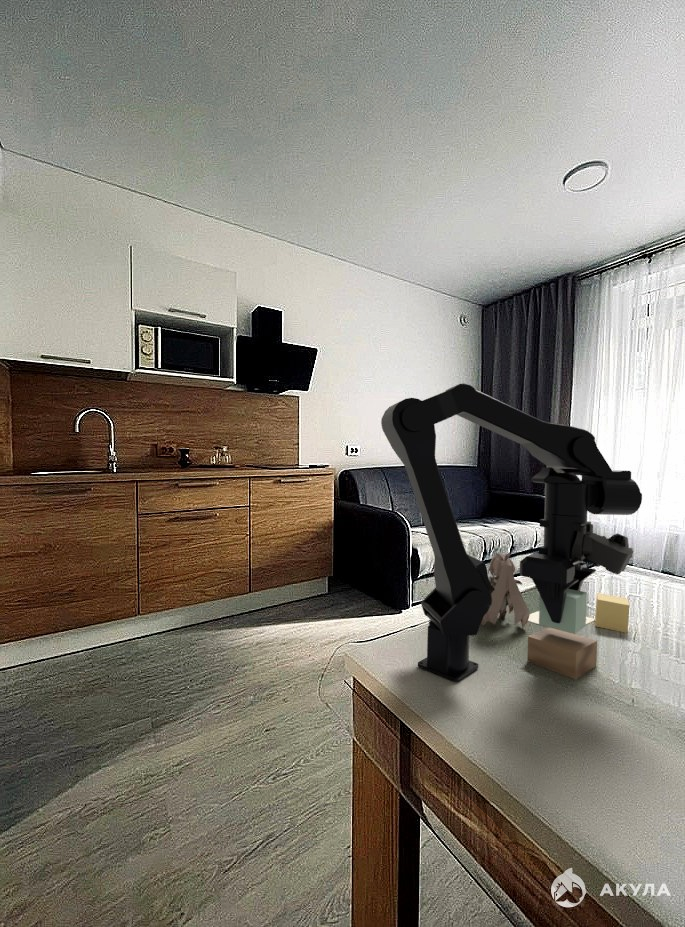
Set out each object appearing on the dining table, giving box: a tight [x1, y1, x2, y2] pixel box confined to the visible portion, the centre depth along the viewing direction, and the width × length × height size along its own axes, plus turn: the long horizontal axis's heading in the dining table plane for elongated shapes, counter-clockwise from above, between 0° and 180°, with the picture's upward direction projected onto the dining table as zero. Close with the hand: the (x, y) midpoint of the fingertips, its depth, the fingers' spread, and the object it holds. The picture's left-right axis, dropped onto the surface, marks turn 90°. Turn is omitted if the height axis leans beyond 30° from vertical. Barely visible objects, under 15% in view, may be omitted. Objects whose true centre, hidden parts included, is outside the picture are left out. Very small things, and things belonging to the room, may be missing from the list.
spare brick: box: [594, 592, 630, 633], centre depth 83 cm, size 5×5×5 cm
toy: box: [480, 552, 530, 629], centre depth 82 cm, size 9×8×15 cm
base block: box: [526, 627, 598, 680], centre depth 67 cm, size 7×7×4 cm
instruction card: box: [527, 610, 595, 628], centre depth 86 cm, size 12×9×1 cm
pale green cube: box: [538, 589, 588, 634], centre depth 67 cm, size 5×5×5 cm
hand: (562, 618), depth 67 cm, fingers closed on pale green cube, 5 cm apart
